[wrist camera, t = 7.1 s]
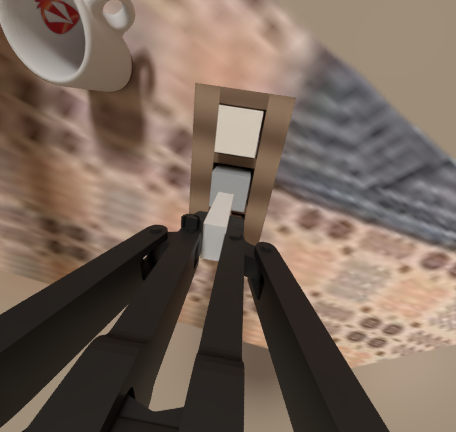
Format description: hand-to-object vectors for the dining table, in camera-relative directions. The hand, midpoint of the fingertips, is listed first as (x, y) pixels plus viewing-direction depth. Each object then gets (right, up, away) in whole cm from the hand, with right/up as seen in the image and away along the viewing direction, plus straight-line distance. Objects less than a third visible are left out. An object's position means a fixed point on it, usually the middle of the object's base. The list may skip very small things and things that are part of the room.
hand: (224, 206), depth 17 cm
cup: (-13, +19, +4) cm, 23 cm away
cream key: (+2, +9, +5) cm, 11 cm away
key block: (+1, +4, +9) cm, 10 cm away
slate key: (+1, +4, +8) cm, 9 cm away
